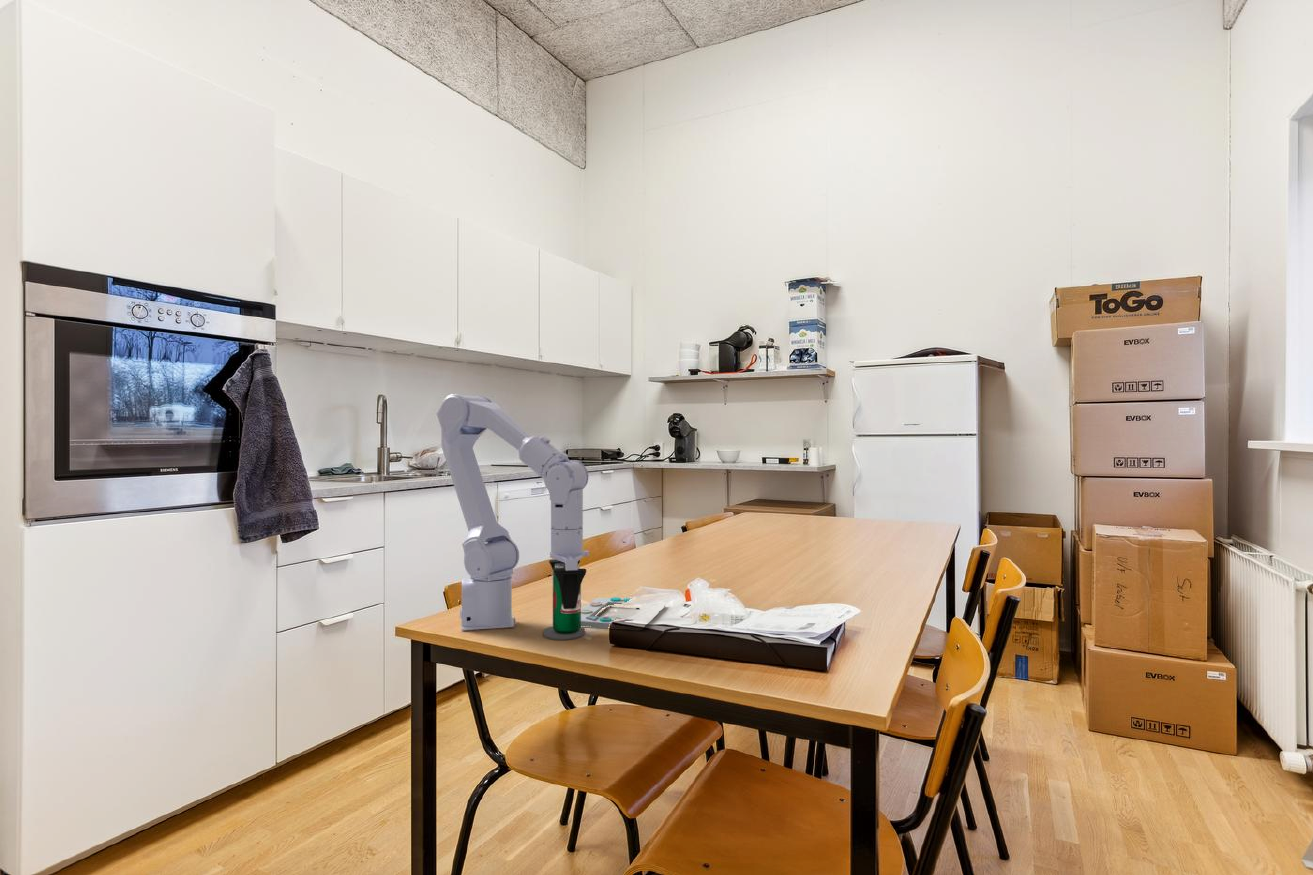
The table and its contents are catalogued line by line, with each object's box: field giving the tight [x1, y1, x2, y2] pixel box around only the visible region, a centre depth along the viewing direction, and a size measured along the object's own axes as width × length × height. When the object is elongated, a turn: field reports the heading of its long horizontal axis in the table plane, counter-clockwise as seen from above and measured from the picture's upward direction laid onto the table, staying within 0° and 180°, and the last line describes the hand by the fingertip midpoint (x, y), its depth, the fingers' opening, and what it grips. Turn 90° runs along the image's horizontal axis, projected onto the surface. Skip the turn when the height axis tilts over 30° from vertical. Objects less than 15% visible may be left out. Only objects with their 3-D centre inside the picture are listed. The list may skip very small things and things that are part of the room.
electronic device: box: [581, 597, 633, 630], centre depth 136 cm, size 18×2×15 cm
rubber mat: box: [542, 625, 586, 641], centre depth 124 cm, size 8×8×1 cm
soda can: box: [552, 562, 582, 634], centre depth 124 cm, size 5×5×12 cm
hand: (567, 603), depth 124 cm, fingers open, 7 cm apart
